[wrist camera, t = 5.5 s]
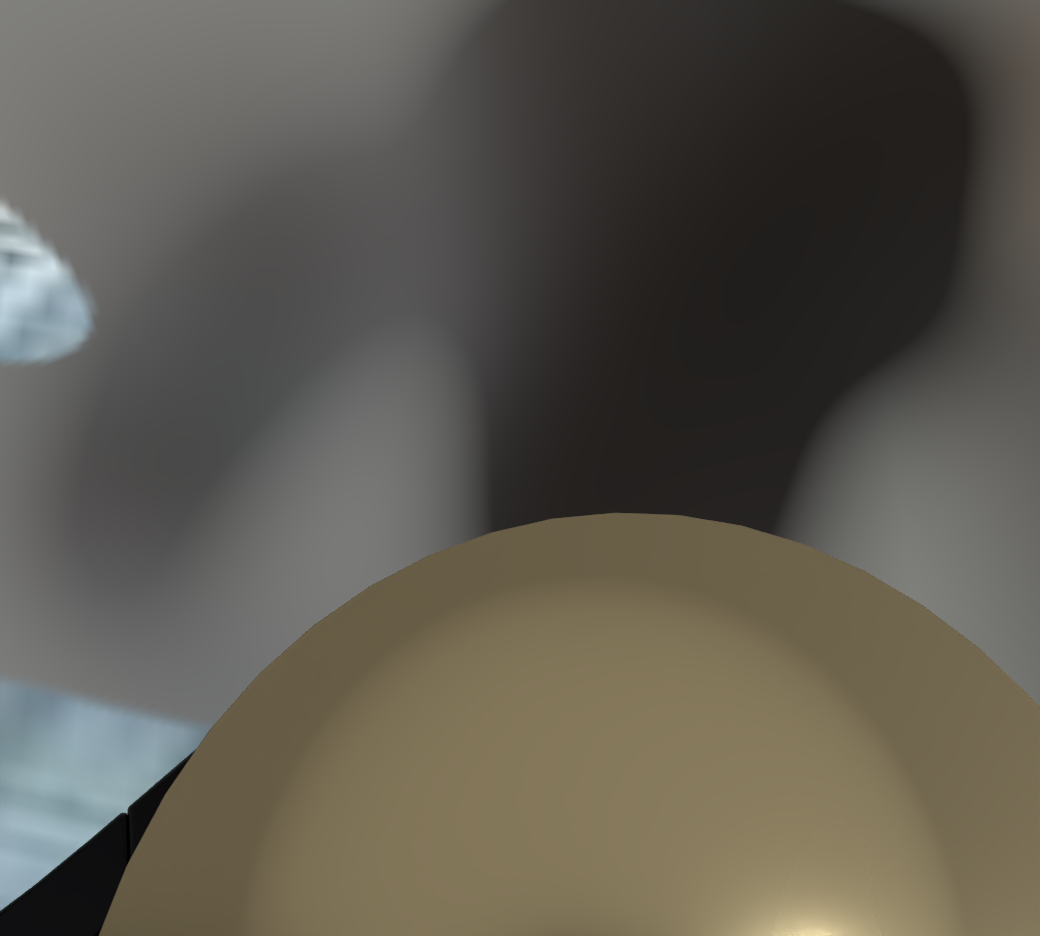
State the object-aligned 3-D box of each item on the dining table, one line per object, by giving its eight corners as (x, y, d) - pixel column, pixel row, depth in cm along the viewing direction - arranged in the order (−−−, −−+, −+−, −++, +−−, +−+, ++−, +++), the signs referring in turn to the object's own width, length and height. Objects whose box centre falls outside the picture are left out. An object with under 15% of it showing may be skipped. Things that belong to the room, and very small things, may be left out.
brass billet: (442, 848, 15) (47, 2201, 2) (415, 633, 16) (49, 597, 3) (648, 809, 15) (1479, 1764, 2) (607, 601, 16) (1011, 445, 3)
